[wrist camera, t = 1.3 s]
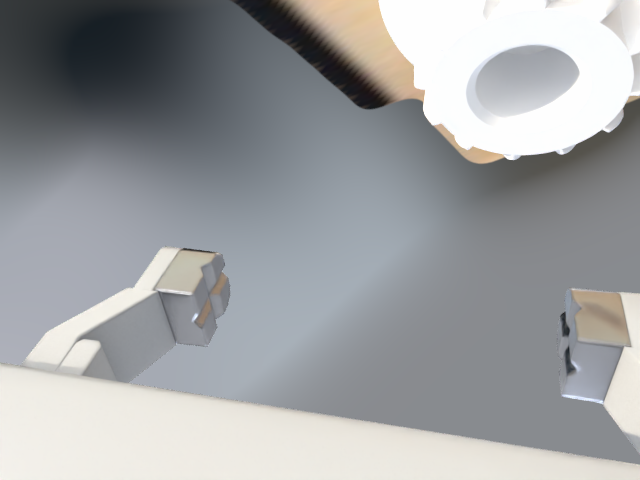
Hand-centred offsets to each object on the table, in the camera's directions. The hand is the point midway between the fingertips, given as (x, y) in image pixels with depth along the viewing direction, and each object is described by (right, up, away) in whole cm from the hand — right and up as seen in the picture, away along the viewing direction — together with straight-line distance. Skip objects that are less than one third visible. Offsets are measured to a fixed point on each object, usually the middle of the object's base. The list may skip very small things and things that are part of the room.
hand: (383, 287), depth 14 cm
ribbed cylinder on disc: (+17, +28, +39) cm, 51 cm away
